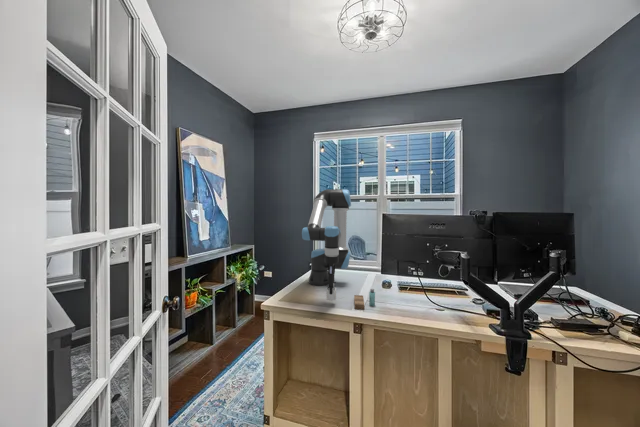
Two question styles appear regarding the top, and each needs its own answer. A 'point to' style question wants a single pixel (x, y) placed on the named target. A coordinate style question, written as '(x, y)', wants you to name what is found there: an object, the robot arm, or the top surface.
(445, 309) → the top surface
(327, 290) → the pale grey block
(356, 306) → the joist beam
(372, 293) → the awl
